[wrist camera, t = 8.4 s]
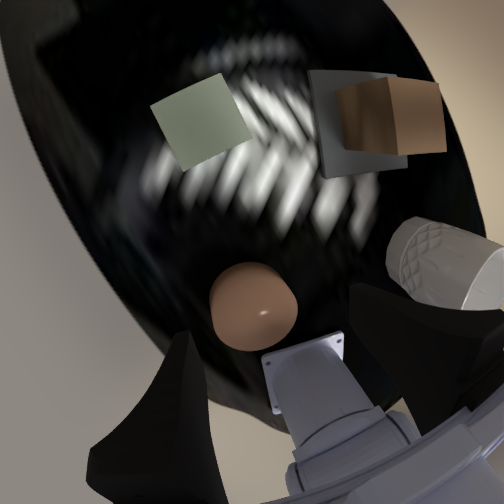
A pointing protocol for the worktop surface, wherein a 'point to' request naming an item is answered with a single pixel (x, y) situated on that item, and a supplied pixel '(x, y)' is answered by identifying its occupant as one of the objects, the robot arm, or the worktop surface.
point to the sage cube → (201, 121)
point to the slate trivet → (330, 126)
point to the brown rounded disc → (251, 306)
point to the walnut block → (392, 116)
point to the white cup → (446, 265)
